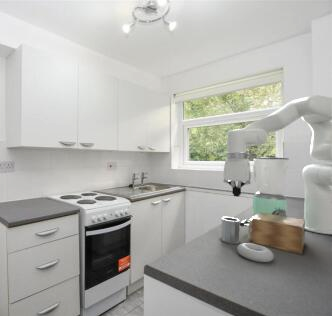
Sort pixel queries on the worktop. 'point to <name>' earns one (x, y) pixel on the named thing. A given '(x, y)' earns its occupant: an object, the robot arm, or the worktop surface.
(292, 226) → the cabinet
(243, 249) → the donut
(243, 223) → the drawer
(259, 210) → the juicer
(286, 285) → the worktop surface
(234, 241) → the measuring cup
